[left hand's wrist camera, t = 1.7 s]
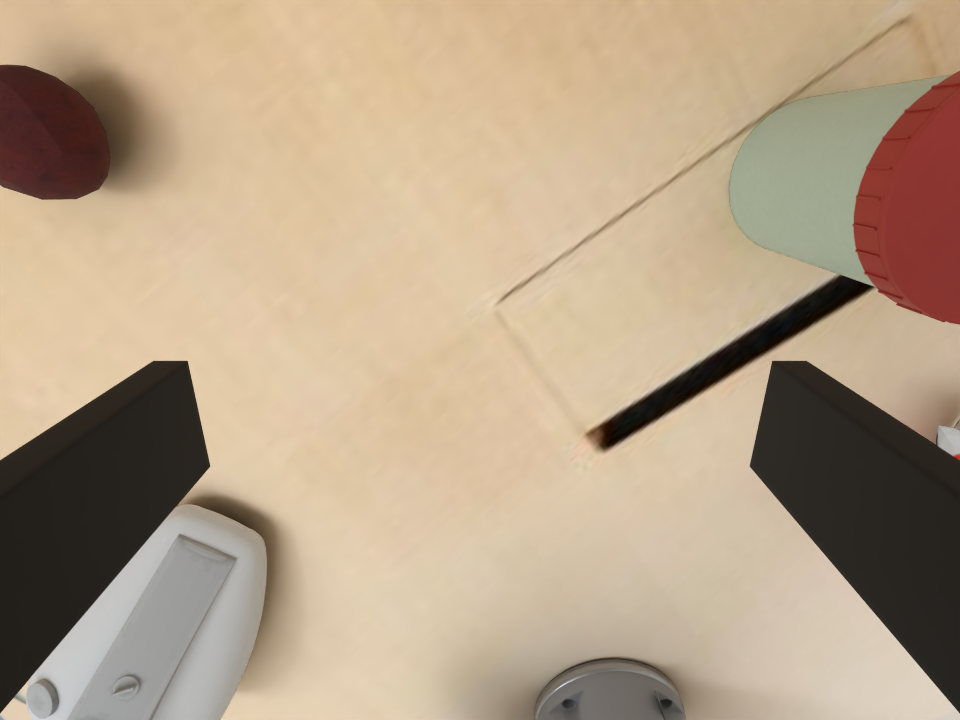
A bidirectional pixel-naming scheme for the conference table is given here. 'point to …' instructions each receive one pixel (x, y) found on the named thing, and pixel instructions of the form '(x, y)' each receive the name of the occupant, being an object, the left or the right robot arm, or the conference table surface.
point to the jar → (815, 172)
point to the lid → (915, 207)
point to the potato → (48, 137)
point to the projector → (163, 629)
